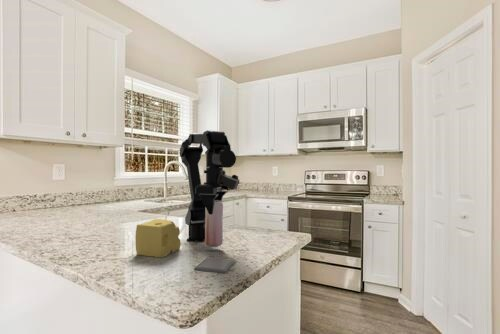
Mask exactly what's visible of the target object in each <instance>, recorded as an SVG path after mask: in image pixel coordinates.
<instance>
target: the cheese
mask: <svg viewBox="0 0 500 334" xmlns="http://www.w3.org/2000/svg"><path fill="white" fill-rule="evenodd" d="M180 231H181V230H180V228H179V226H177V225H176V224H175V223H174V221H173V220H167V219H161V218H154V219H152V220H150V221H146V222H141V223H138V224H137V225H136V229H135V252H136V255H137V256H145V257H146V256H147V257H153V256H154V258H165V257H167V255H168V256H169V254H170V253H175V252H176V251H179V250H180V249H181V239H180V238H179V236H180Z"/></svg>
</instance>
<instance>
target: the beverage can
mask: <svg viewBox="0 0 500 334" xmlns="http://www.w3.org/2000/svg"><path fill="white" fill-rule="evenodd" d="M223 209H224V204H223V200H222V201H219V200H214V207H213V213H212V214H209V213H208V211H207V209H206V207H205V240H204V244H205V246H206V247H208V248H209V247H210V248H217V247H221V246H222V245H223V242H224V241H223V236H224V235H223V234H224V231H223V230H224V228H223V227H224V226H223V225H224V222H223V221H224V218H223V217H224V210H223Z"/></svg>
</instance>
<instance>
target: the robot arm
mask: <svg viewBox="0 0 500 334" xmlns="http://www.w3.org/2000/svg"><path fill="white" fill-rule="evenodd" d="M193 144H195V146H194V145H193ZM197 145H199V146H197ZM203 147H205V148H206V150H205V153H204V155H206V157H205V161H206V163H205V164H206V165H205V166H206V167H205V168H206V169H205V170H203V174H205V182H203V183H202V180H201V174H200V169H199V162H200V161H201V159H202V154H203V151H204V149H203ZM179 157H180V158H181V163H182V164H183V165H184V166H185V167H186V172H187V178H188V185H189V194H190V199H191V200H190V203H189V204H188V207H187V208H188V209H187V212H186V215H185V218H184V221H185V224H186V225H187V226H188V238H186V241H188V242H199V243H201V242H202V243H203V241H204V242H205V207H206V209H207V211H208V213H209V214H212V213H213V207H214V200H219V201H222V202H223V198H224V196H225V195H226V194H228V192H229V191H231V190H233V191H234V190H237V189H238V186H239V185H240V184H241V183H240V179H239V176H238V175H237V174H232V175H227V174H226V170H224V168H227V169H228V168H231V167H233V166H235V164H236V162H237V156H236V154H235V152H234V151H233V150H232V148H231V144H230V142H229V140H228V136H227V135H226V132H225V131H219V130H210V129H209V130H205V131H203V133H193V132H192V133H189V135H188V137H187V138H186V139H185V140H184V141H183V142H182V143H181V145H180V148H179Z"/></svg>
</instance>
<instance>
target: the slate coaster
mask: <svg viewBox="0 0 500 334" xmlns="http://www.w3.org/2000/svg"><path fill="white" fill-rule="evenodd" d="M235 263H236V260H235V259H227V258H226V259H225V258H219V257H218V258H216V257H206V258H205V259H203V260H202V261H200V263H198V264H197V265H196V266H195V267H194V270H195V271H200V270H203V271H202V272H210V273H211V272H212V273H221V274H226V273H227V272H228V271H229V270H230V268H231V267H232V266H233V265H234V264H235Z"/></svg>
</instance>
